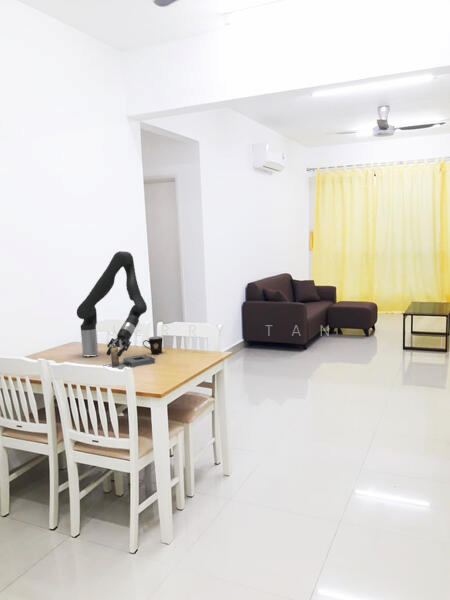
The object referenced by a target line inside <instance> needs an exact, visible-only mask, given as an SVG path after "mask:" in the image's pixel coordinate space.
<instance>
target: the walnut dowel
mask: <svg viewBox="0 0 450 600" xmlns="http://www.w3.org/2000/svg"><path fill="white" fill-rule="evenodd" d="M118 352H119V347H117V348H111V354H110V357H111V364H112V367H117V366H119V362H120V360H119V359H120V357H118V356H117V353H118Z"/></svg>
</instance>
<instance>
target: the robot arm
mask: <svg viewBox="0 0 450 600" xmlns="http://www.w3.org/2000/svg"><path fill="white" fill-rule="evenodd" d="M122 268H124V270H125V274H126V282H125V286H126V292H127V294H128V298H129V300H130V301H132V302H133V304H134V305H133V306H132V307H131V309H130V310H129V313H128V316H127V318H126V319H125V321H124V322H123V324H122V325H121V327H120V329H119V331H118V332H117V334H116V338H115V339H114V337H112V338H111V339H110V341H109V342H108V343H107V346H106V347H107V348H108V349H107V350H106V355H107V356H111V348H120V349H118V353H117V356H118V357H119V358H121V356H122V355H123V353H124V352H125V351H126V352H127V351H128V350H129V348H130V345H131V343H132V341H130V339H131V338H132V336H133V334H134V332H135V330H136V328H137V326H138V324H139V322H140V321H139V319H140V317H141V316H142V315H143V314H145V313H146V312H147V309H148V307H147V306H148V305H147V303H146V301H145V299H144V298H143V296H142V294H141V291H140V288H139V284H138V280H137V275H136V270H135V262H134V257H133V255H132V254H131V252H129V251H123V250H121V251H117V252H115V253H114V255H113V257H112V258H111V260H110V261H109V264H108V265H107V267H106V269H105V270H104V271H103V273H102V275H101V276H100V277H99V279H98V280H97V281H96V283H95V285H93V287H92V289H91V290H90V292H89V293H88V295H87V297H86V298H85V299H84V300H83V301H82V302H81V303H80V304H79V305H78V307H77V309H76V316H77V317H78V318H79V319H81V320H82V321H83V322H82V323H81V324H80V334H81V336H80V337H81V346H82V347H81V348H82V356H83V355H97V354H98V355H99V348H98V336H97V323H98V319H97V317H98V316H97V309H96V305H97V304H98V303H99V302H100V301H101V300H102V299H104V298H105V297H106V296H107V295H108V294H109V293H110V291H111V290H112V288H113V286H114V284H115V279H116V275H117V274H118V273H119V271H120V270H121V269H122Z"/></svg>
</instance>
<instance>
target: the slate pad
mask: <svg viewBox="0 0 450 600" xmlns="http://www.w3.org/2000/svg"><path fill="white" fill-rule="evenodd" d="M107 365H109V366H108V367H112V363H108V364H107V363H106V364H103V365H102V367H104V366H107ZM124 367H128V368H129V365H127V364H125V363H122V362H120V361H119V366H117V367H112V368H118V369H119V370H123V369H122V368H124Z"/></svg>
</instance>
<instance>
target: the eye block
mask: <svg viewBox="0 0 450 600" xmlns="http://www.w3.org/2000/svg"><path fill="white" fill-rule="evenodd" d="M155 359H156V358H154V357H151V356H150V355H147V354H141V355H136V356H130V357H124V358H122V362H123V363H122V364H124V365H126V366H128V367H131V368H135V367H140V366H145V365H151V364H152V365H153V364H155V363H156V360H155Z"/></svg>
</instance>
